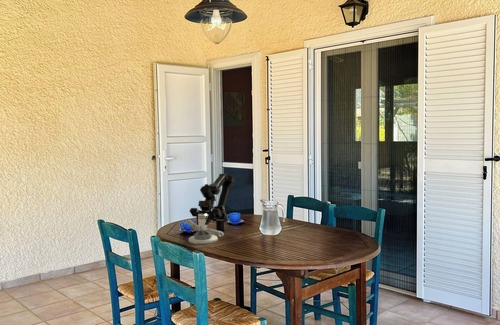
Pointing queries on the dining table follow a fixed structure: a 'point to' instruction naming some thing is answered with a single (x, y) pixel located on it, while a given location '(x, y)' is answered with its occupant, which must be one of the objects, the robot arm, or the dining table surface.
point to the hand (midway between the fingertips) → (201, 224)
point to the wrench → (214, 232)
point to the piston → (202, 223)
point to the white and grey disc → (203, 238)
